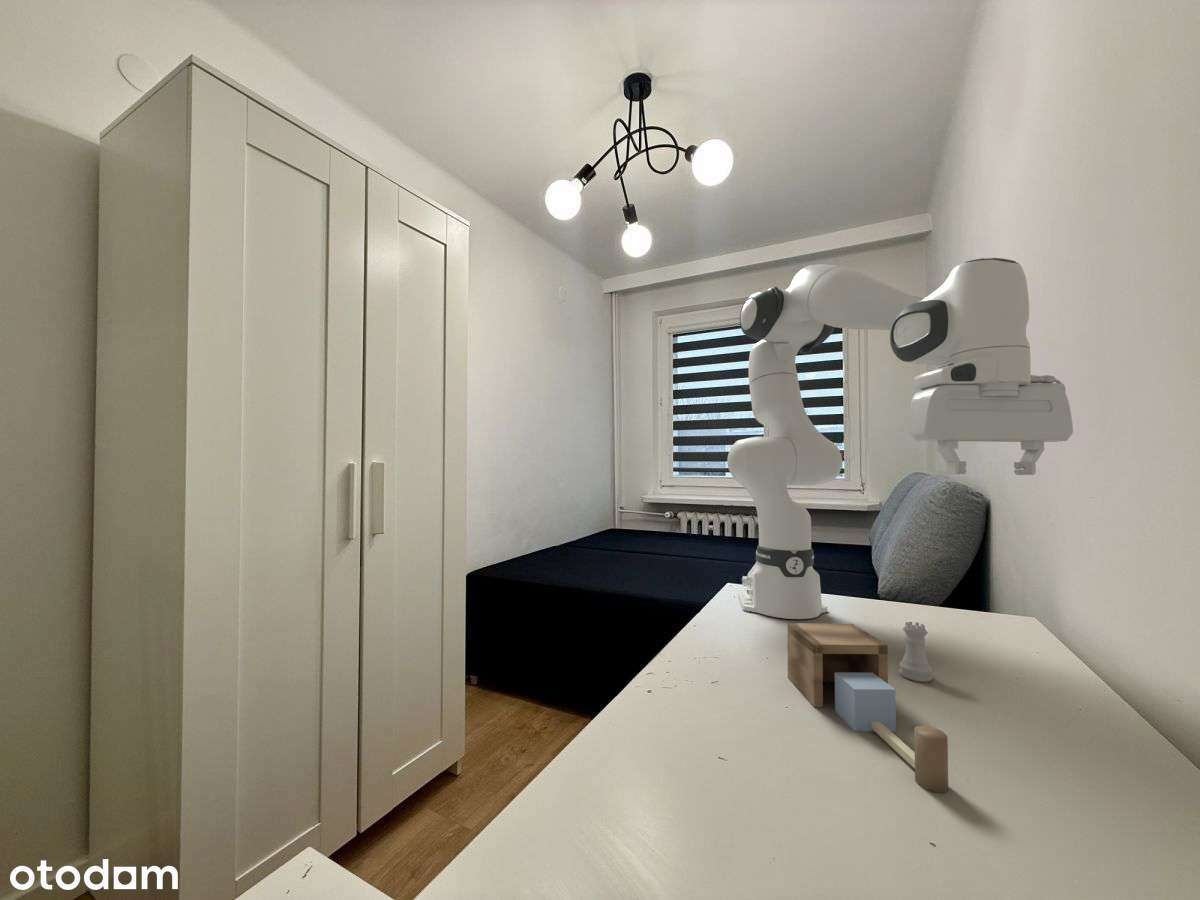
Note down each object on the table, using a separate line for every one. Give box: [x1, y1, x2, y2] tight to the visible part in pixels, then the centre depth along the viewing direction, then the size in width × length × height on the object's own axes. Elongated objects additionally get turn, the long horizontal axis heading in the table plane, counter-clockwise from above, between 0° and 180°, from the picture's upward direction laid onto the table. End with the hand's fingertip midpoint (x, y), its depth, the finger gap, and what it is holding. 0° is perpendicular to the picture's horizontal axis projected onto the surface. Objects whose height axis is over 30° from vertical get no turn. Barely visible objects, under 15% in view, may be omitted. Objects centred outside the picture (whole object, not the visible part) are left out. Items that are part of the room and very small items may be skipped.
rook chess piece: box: [898, 621, 934, 683], centre depth 76 cm, size 4×4×8 cm
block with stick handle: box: [834, 672, 949, 794], centre depth 57 cm, size 16×5×5 cm, turn 0°
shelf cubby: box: [786, 622, 889, 708], centre depth 71 cm, size 9×10×8 cm
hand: (990, 474), depth 68 cm, fingers open, 8 cm apart
